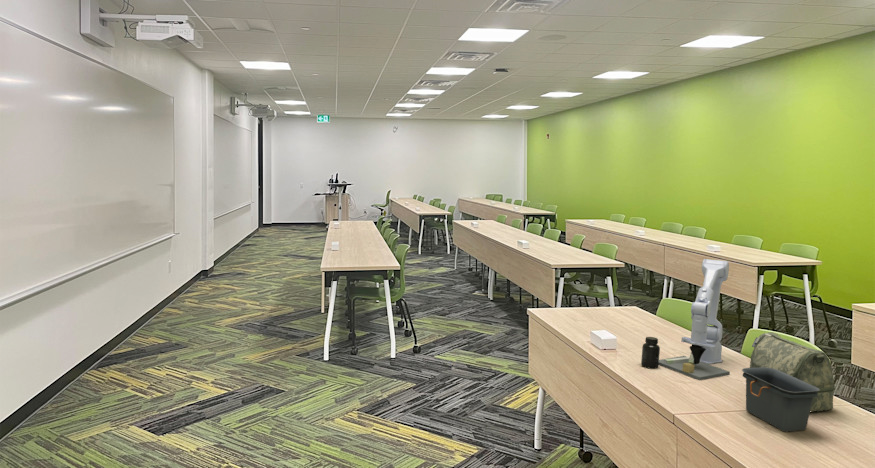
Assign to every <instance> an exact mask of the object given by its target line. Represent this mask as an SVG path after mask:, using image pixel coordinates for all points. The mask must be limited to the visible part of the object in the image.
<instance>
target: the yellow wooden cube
mask: <svg viewBox="0 0 875 468" xmlns="http://www.w3.org/2000/svg"><path fill="white" fill-rule="evenodd" d="M682 371H685V372H687V373H692V372H694V364H691V363H683V370H682Z"/></svg>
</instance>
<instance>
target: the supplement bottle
mask: <svg viewBox="0 0 875 468" xmlns="http://www.w3.org/2000/svg"><path fill="white" fill-rule="evenodd" d="M644 341H645V343H643V344H642V350H641V360H640V362H641V363H640V364H641V366H642V367H644V368H646V369H658V368H659V366H660V365H659V360H660V351H661V347H660V345H658V344H659V339H658V338H657V337H655V336H654V337H653V336H646V337H645V340H644Z"/></svg>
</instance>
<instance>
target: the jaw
mask: <svg viewBox="0 0 875 468" xmlns="http://www.w3.org/2000/svg"><path fill="white" fill-rule="evenodd" d="M689 357H690V358H689V361H688V363H691V364H694V358H693V354H691V353H690V356H689Z"/></svg>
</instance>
